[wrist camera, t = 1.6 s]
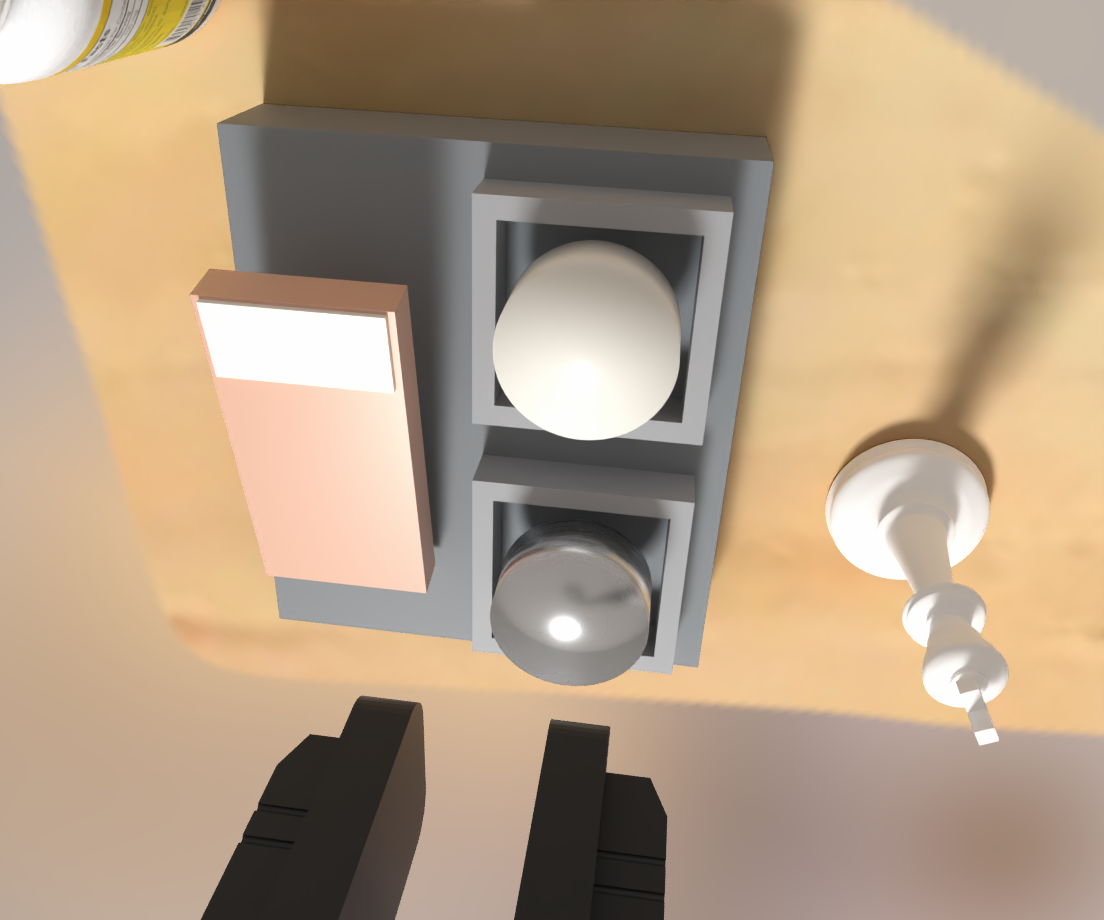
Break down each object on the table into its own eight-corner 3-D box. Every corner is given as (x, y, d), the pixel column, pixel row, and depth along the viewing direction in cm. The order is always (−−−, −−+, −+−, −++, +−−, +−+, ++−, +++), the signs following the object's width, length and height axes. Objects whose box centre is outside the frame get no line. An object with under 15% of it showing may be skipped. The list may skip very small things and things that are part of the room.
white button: (690, 247, 23) (689, 274, 21) (671, 412, 25) (669, 448, 23) (508, 233, 23) (493, 258, 22) (505, 396, 26) (491, 431, 24)
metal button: (658, 526, 27) (656, 568, 25) (645, 648, 29) (641, 694, 27) (503, 510, 27) (490, 551, 26) (501, 631, 30) (489, 676, 28)
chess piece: (961, 415, 29) (1073, 626, 20) (1005, 541, 31) (1126, 783, 22) (802, 471, 31) (844, 689, 22) (854, 587, 32) (912, 830, 24)
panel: (766, 136, 26) (778, 176, 22) (697, 609, 34) (697, 699, 30) (262, 103, 27) (189, 134, 23) (310, 566, 35) (262, 647, 31)
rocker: (407, 285, 23) (392, 315, 22) (435, 564, 30) (425, 597, 29) (209, 268, 24) (187, 297, 23) (280, 547, 30) (265, 578, 29)
